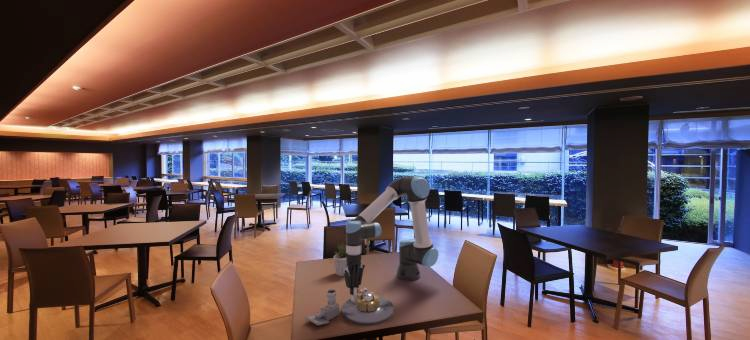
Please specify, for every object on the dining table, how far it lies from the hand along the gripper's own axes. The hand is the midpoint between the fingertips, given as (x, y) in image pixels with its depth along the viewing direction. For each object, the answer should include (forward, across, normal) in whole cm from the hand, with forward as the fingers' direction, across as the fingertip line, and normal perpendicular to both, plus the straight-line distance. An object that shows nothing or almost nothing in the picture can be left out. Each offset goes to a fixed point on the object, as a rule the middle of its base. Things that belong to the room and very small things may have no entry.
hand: (353, 300), depth 143 cm
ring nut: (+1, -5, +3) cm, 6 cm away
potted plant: (+4, -24, -41) cm, 48 cm away
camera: (+4, +16, -1) cm, 17 cm away
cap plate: (+4, -3, +7) cm, 8 cm away
